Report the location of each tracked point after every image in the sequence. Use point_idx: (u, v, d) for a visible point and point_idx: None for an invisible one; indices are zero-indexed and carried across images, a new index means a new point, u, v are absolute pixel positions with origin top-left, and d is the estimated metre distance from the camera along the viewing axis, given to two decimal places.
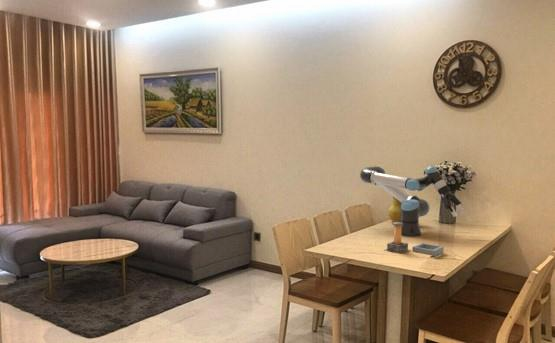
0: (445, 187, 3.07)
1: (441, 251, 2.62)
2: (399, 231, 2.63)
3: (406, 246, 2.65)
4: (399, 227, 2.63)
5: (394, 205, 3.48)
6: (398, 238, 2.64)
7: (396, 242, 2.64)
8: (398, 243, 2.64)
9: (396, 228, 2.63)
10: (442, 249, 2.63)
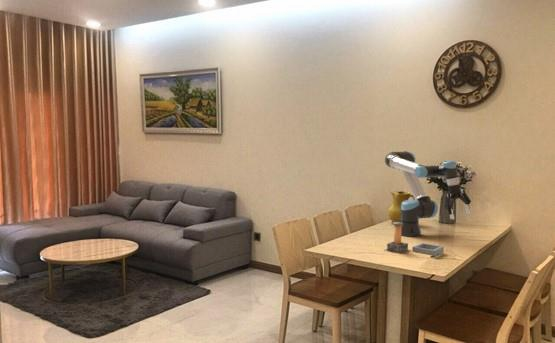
0: (454, 187, 2.91)
1: (441, 251, 2.62)
2: (399, 231, 2.63)
3: (406, 246, 2.65)
4: (399, 227, 2.63)
5: (394, 205, 3.48)
6: (398, 238, 2.64)
7: (396, 242, 2.64)
8: (398, 243, 2.64)
9: (396, 228, 2.63)
10: (442, 249, 2.63)
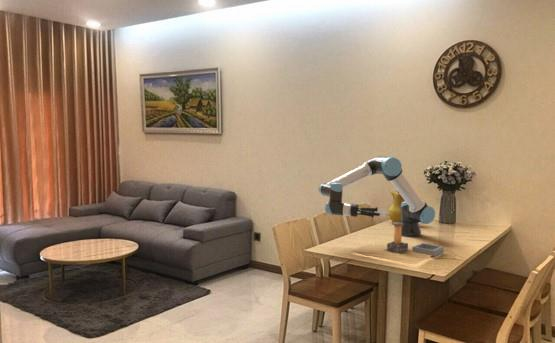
0: None
1: (441, 251, 2.62)
2: (399, 231, 2.63)
3: (406, 246, 2.65)
4: (399, 227, 2.63)
5: (394, 205, 3.48)
6: (398, 238, 2.63)
7: (396, 242, 2.64)
8: (398, 243, 2.64)
9: (396, 228, 2.63)
10: (442, 249, 2.63)
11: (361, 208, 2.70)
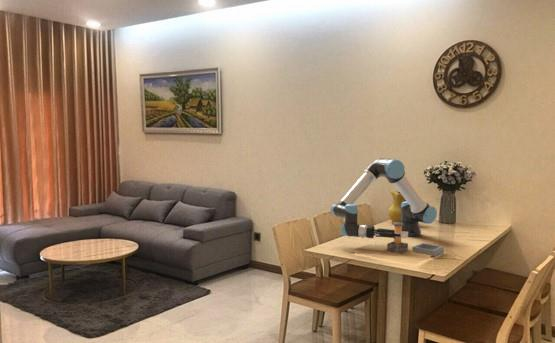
0: None
1: (441, 251, 2.62)
2: (399, 231, 2.63)
3: (406, 246, 2.65)
4: (399, 227, 2.63)
5: (394, 205, 3.48)
6: (398, 238, 2.63)
7: (396, 242, 2.64)
8: (398, 243, 2.64)
9: (396, 228, 2.63)
10: (442, 249, 2.63)
11: (378, 230, 2.68)
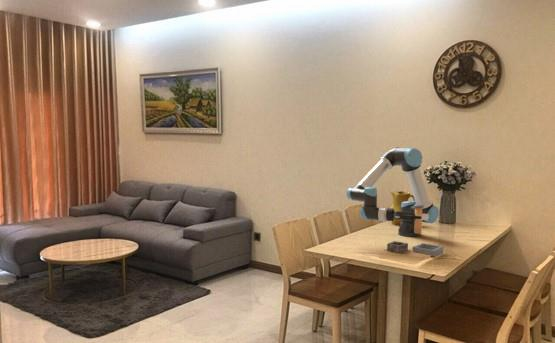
0: None
1: (441, 251, 2.62)
2: (420, 213, 2.60)
3: (406, 246, 2.65)
4: (420, 209, 2.60)
5: (394, 205, 3.48)
6: (419, 220, 2.60)
7: (416, 224, 2.61)
8: (419, 225, 2.61)
9: (417, 210, 2.60)
10: (442, 249, 2.63)
11: (398, 212, 2.65)
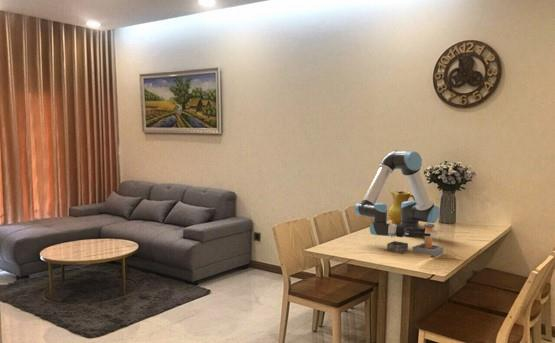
0: None
1: (441, 251, 2.62)
2: None
3: (406, 246, 2.65)
4: (430, 228, 2.61)
5: (394, 205, 3.48)
6: (429, 240, 2.62)
7: (427, 243, 2.62)
8: (429, 245, 2.62)
9: (427, 229, 2.61)
10: (442, 249, 2.63)
11: (407, 229, 2.66)
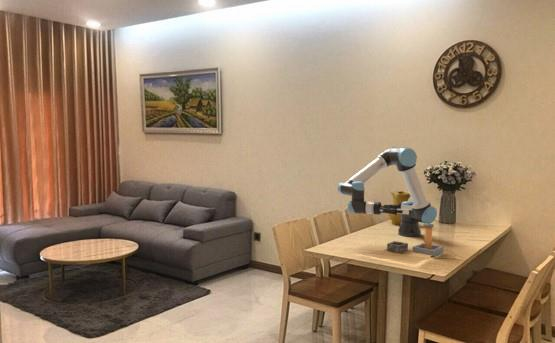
0: None
1: (441, 251, 2.62)
2: (430, 233, 2.61)
3: (406, 246, 2.65)
4: (430, 229, 2.61)
5: None
6: (429, 240, 2.62)
7: (426, 244, 2.62)
8: (429, 245, 2.62)
9: (427, 230, 2.61)
10: (442, 249, 2.63)
11: (384, 206, 2.70)
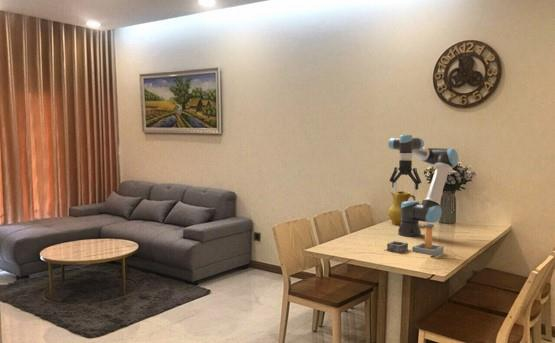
0: (399, 162, 2.82)
1: (441, 251, 2.62)
2: (430, 233, 2.61)
3: (406, 246, 2.65)
4: (430, 229, 2.61)
5: (394, 205, 3.48)
6: (429, 240, 2.62)
7: (427, 244, 2.62)
8: (429, 245, 2.62)
9: (427, 230, 2.61)
10: (442, 249, 2.63)
11: None
